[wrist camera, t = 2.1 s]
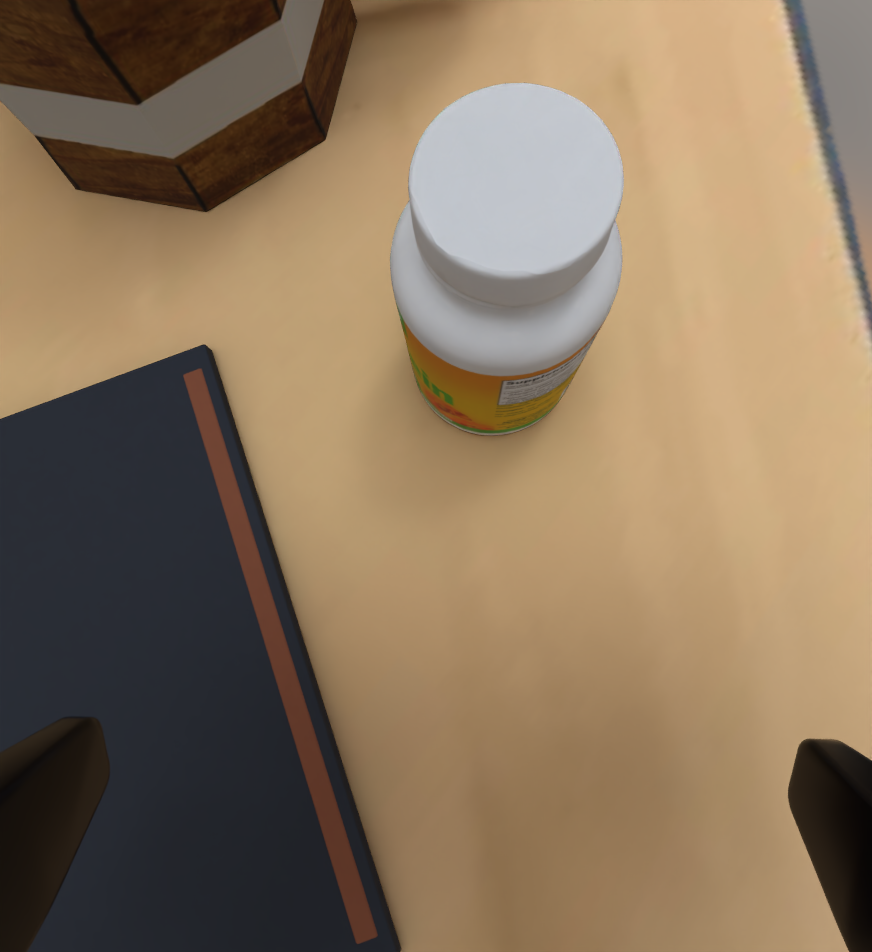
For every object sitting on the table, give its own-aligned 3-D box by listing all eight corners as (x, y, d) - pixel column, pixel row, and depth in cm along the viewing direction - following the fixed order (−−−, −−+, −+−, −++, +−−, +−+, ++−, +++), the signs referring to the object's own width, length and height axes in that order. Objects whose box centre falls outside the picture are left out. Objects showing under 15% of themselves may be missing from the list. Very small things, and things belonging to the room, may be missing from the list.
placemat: (401, 948, 18) (399, 963, 17) (-47, 1119, 17) (-65, 1139, 17) (212, 349, 21) (204, 342, 20) (-165, 487, 21) (-184, 484, 20)
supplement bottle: (387, 329, 21) (322, 119, 11) (526, 264, 21) (577, 3, 11) (454, 465, 20) (445, 363, 10) (599, 396, 20) (721, 233, 10)
